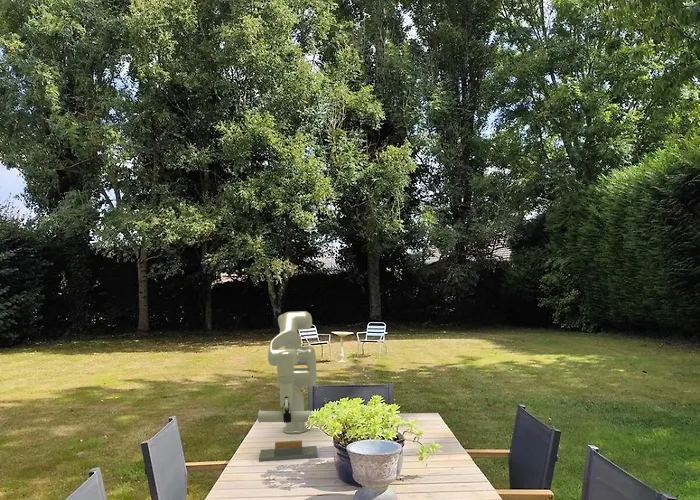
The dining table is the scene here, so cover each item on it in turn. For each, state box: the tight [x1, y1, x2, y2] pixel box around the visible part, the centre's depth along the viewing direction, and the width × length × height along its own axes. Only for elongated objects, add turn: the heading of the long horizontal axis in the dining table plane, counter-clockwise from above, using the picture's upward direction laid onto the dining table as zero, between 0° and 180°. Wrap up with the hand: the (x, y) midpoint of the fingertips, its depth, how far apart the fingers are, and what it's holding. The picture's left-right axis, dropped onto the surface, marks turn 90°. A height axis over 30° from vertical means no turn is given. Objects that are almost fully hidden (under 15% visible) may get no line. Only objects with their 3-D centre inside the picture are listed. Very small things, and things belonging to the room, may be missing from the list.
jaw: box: [274, 439, 303, 449], centre depth 254 cm, size 2×12×3 cm, turn 96°
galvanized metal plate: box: [258, 445, 319, 462], centre depth 249 cm, size 12×25×4 cm, turn 95°
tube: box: [257, 409, 313, 424], centre depth 250 cm, size 5×5×25 cm
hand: (287, 420), depth 250 cm, fingers closed on tube, 5 cm apart
